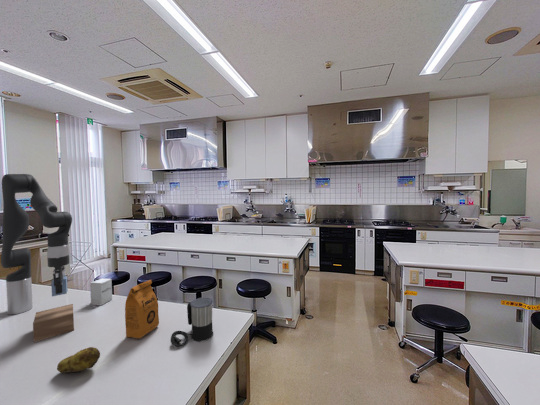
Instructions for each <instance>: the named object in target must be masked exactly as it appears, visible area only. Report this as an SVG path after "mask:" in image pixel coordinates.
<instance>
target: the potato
mask: <svg viewBox="0 0 540 405" xmlns="http://www.w3.org/2000/svg"><path fill="white" fill-rule="evenodd" d="M100 356H101V352H100V350H99V348H96V347H94V346H89V347H87V348H84V349H80V350H79V351H77V352H76V353H73V354H72V355H70V356H68V357H65V358H63V359H61V360H60V361H59V362H58V364H57V368H56V369H57V371H58V372H60V373H62V374H66V373H78V372H81V371H85V370H87V369H89V370H90V369H92V368H93V367H94V366H95V365H96V364H97V363H98V361H99V360H100V359H99V358H101V357H100Z"/></svg>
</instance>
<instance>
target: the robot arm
mask: <svg viewBox="0 0 540 405" xmlns="http://www.w3.org/2000/svg"><path fill="white" fill-rule="evenodd" d="M1 190H2V191H1V192H2V202H3V203H2V204H3V205H2V208H3V211H2V246H1V253H0V264H1V267H2V268H3V269H11V268H17V267H20V268H19V269H17V270H16V271H14V272H11V273H9V274H7V275H6V277H5V281H6V282H5V283H6V284H5V285H6V301H7V302H6V304H7V305H6V306H7V314H8V315H18V314H22V313H25V312H28V311H30V310H32V309H33V288H32V252H31V251H32V250H30V249H29V248H27V247H25V248H23V247H22V248H15V249H13V248H14V246H15V244H16V243H17V242H18V241H19V240H20V239H21V237H23V235H25V233H26V232H27V231H28V230H29V226H30V215H29V214H28V212H27V211H26V209H24V208H23V207H22V206H21V205H20V204H19V203H18V202H17V198H16V194H20V193H22V194H23V193H31V194H32V195H31V197H30V200H29V202H30V206H31V208H32V209H33V210H34V211H35V212H36V214H38V216H39V220H40V222H41V225H42V226H43V227H44V228H48V229H54V228H58V229H57V230H56V231H54V232H51V233H49V234H48V235H47V250H46V252H47V253H46V256H47V259H46V260H47V267H48V268H54V269H53V270H52V276H53V277H52V279H53V280H54V286H55V290H56V294H60V293H62V284H63V283H62V280H63V279H64V277H65V276H66V267H65V266H68V265H69V264H70V249H69V234H70V229H71V226H72V223H73V216H72V214H71V213H70V212H69V211H58V207H57V205H56V204H55V203H54V202H52V201H51V199H50V198H49V197H48V196H47V195H46V193H45V192H44V190H43V188H42V187H41V185H40V184H39V182H38V181H37V179H36V178H35V177H34V175H32V174H29V173H28V174H27V173H6V174H4V175H2V178H1ZM61 277H62V278H61ZM56 281H60V282H58V283H57V282H56Z"/></svg>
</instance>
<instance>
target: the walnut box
mask: <svg viewBox="0 0 540 405" xmlns="http://www.w3.org/2000/svg"><path fill="white" fill-rule="evenodd" d="M32 331H33V343H35V342H38V341H39V342H40V341H41V340H46V339H50V338H53V337H56V336H58V335H63V334H66V333H69V332H73V331H75V323H74V304H73V303H70V304H67V305H66V304H65V305H62V306H61V305H60V306H57V307H53V308H50V309H49V308H48V309H44V310H41V311H40V310H39V311H36V312H35V315H34V319H33V321H32Z"/></svg>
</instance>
